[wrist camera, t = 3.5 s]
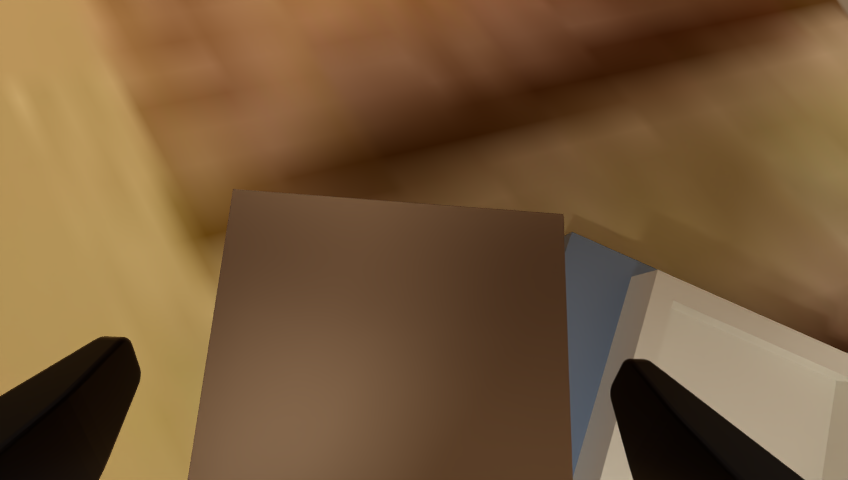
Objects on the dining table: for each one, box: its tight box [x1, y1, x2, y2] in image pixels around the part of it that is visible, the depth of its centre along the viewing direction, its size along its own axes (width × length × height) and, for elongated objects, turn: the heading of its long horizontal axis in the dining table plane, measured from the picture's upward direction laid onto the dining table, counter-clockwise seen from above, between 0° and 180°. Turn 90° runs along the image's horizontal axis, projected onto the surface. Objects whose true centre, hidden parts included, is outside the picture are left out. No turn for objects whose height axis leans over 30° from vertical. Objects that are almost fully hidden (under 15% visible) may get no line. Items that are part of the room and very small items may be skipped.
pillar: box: [188, 189, 573, 480], centre depth 11 cm, size 5×5×10 cm
